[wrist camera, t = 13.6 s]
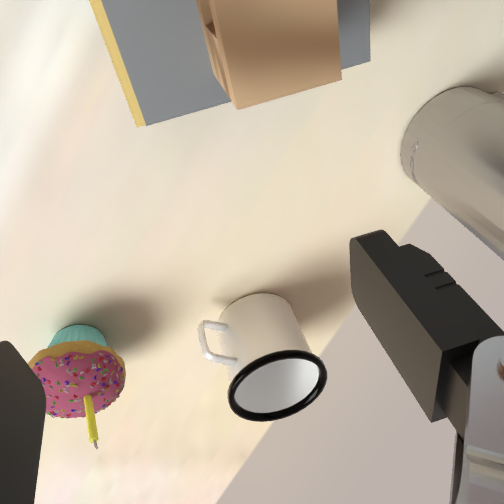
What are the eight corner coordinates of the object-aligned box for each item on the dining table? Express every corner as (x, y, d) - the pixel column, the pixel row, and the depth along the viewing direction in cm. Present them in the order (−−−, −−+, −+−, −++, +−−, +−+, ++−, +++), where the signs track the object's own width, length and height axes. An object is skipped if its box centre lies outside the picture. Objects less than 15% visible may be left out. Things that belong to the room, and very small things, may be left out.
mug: (312, 299, 48) (347, 365, 41) (267, 358, 52) (292, 427, 45) (215, 270, 43) (236, 340, 36) (173, 338, 47) (184, 413, 40)
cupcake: (99, 297, 41) (96, 409, 32) (139, 352, 47) (147, 461, 37) (10, 332, 41) (-18, 455, 32) (61, 383, 46) (49, 501, 37)
